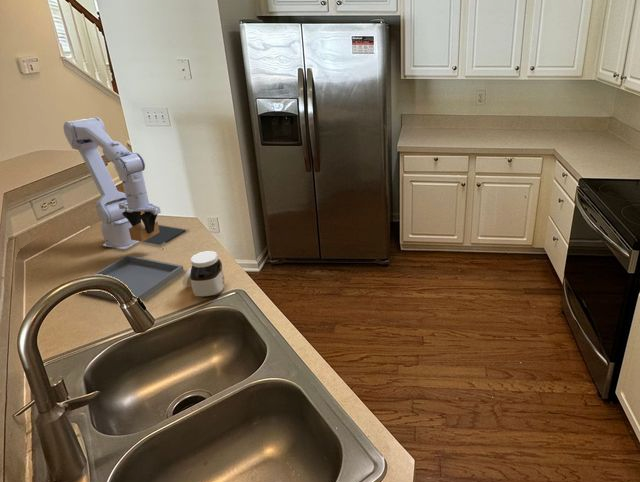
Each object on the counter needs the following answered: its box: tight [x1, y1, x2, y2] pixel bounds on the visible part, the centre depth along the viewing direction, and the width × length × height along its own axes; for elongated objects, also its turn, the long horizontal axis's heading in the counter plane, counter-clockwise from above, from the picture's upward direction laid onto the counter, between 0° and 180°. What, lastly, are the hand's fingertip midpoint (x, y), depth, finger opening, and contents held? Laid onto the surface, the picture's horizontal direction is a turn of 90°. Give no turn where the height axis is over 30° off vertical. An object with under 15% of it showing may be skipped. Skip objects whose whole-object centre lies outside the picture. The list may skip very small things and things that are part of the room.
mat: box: [142, 224, 186, 246], centre depth 156 cm, size 14×12×1 cm
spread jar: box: [182, 250, 225, 300], centre depth 124 cm, size 12×11×12 cm
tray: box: [82, 254, 185, 302], centre depth 128 cm, size 22×18×3 cm
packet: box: [129, 220, 160, 243], centre depth 139 cm, size 4×7×4 cm, turn 164°
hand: (144, 231), depth 139 cm, fingers closed on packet, 4 cm apart
